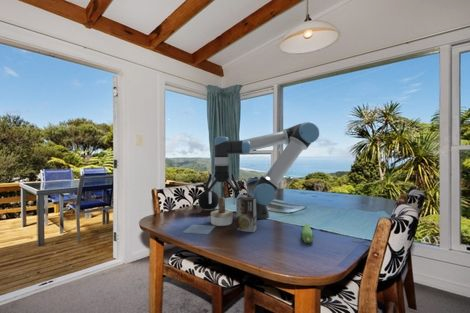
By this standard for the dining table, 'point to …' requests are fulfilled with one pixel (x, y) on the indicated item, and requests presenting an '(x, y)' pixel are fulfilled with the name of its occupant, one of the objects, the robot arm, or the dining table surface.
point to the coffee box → (246, 214)
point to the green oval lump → (307, 234)
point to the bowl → (221, 221)
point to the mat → (199, 229)
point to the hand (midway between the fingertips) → (222, 203)
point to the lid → (221, 209)
